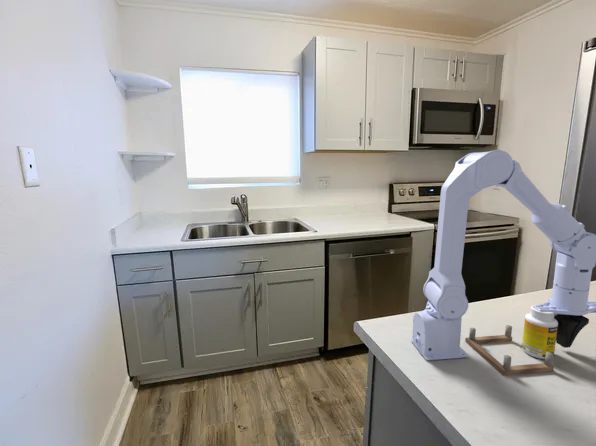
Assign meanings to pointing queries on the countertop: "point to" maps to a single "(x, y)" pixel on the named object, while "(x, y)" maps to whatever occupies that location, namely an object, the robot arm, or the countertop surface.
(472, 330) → the peg frame
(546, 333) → the supplement bottle
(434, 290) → the robot arm
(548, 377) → the countertop surface
